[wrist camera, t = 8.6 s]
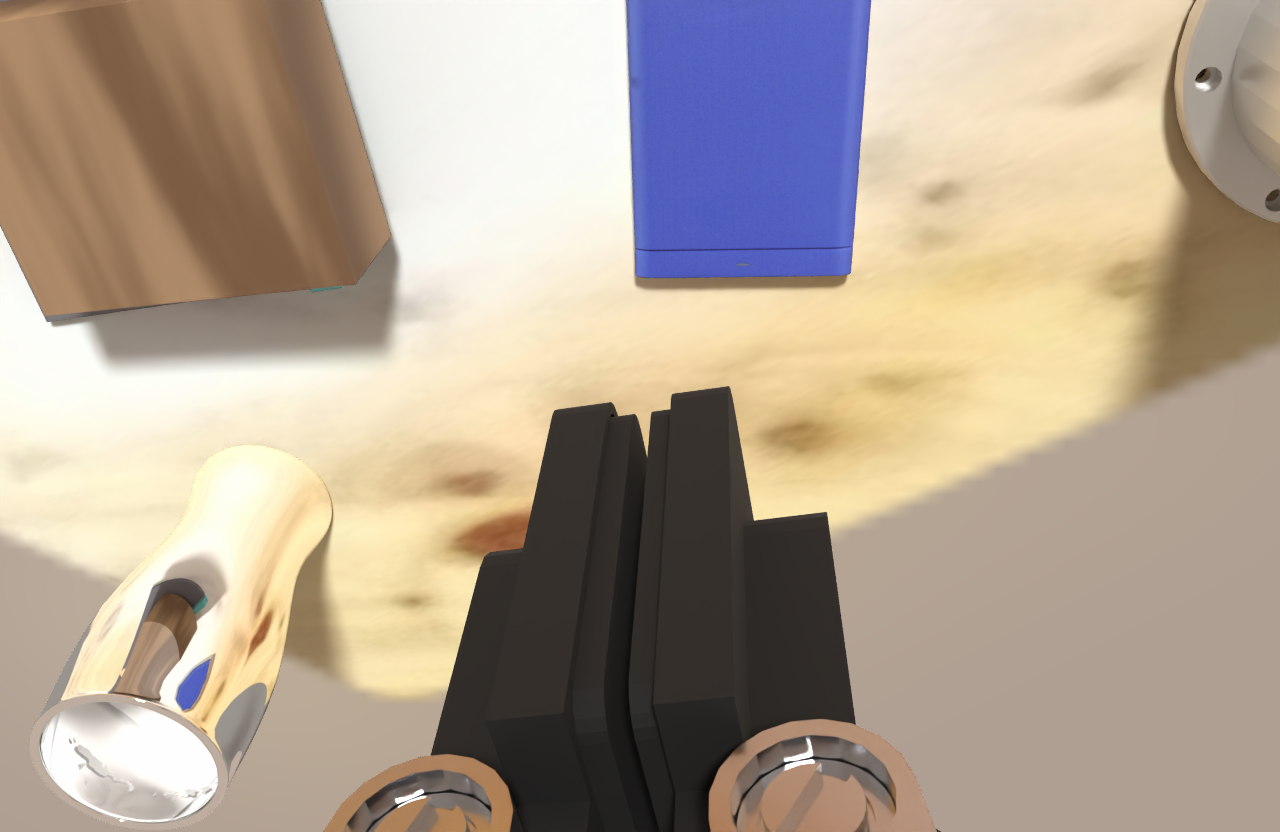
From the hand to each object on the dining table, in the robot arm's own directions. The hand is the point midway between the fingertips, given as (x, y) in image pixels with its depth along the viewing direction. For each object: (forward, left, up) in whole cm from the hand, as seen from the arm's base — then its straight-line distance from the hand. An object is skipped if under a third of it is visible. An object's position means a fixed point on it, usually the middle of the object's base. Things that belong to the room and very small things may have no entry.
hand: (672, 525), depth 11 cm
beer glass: (+22, +21, -33) cm, 44 cm away
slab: (+12, +4, -29) cm, 32 cm away
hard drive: (-1, +6, -33) cm, 34 cm away
